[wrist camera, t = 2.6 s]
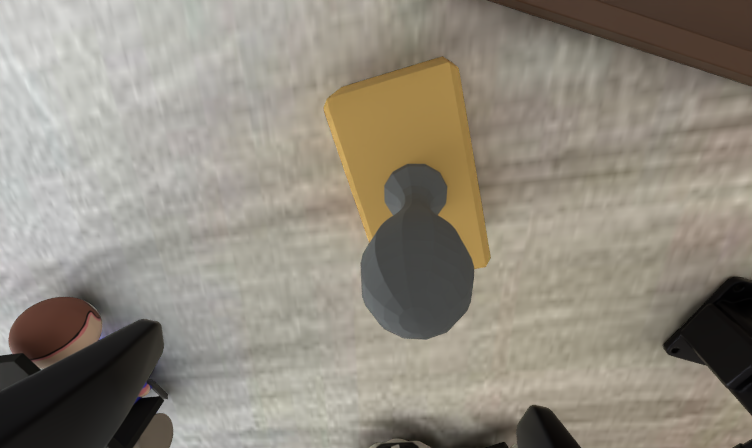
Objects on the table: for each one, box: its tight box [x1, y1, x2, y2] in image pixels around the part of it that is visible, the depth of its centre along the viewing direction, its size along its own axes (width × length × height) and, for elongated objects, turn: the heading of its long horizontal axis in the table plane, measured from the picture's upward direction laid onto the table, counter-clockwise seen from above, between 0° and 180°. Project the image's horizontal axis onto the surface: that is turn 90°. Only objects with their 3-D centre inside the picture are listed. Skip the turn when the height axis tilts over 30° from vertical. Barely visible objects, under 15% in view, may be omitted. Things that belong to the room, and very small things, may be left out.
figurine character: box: [0, 297, 173, 448], centre depth 27 cm, size 7×8×15 cm
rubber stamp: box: [324, 56, 491, 340], centre depth 14 cm, size 10×6×12 cm, turn 17°
